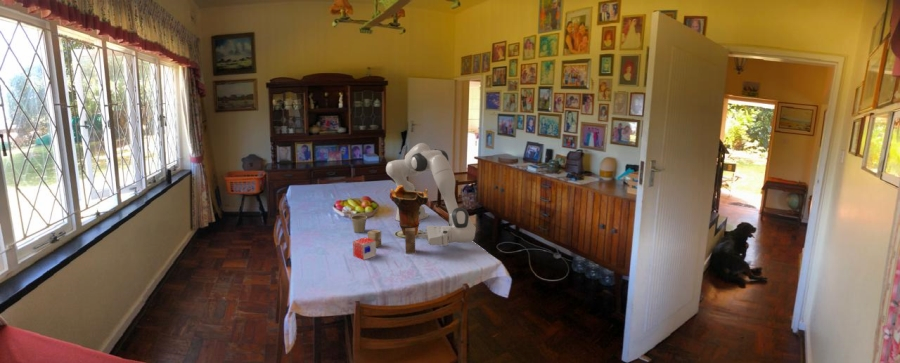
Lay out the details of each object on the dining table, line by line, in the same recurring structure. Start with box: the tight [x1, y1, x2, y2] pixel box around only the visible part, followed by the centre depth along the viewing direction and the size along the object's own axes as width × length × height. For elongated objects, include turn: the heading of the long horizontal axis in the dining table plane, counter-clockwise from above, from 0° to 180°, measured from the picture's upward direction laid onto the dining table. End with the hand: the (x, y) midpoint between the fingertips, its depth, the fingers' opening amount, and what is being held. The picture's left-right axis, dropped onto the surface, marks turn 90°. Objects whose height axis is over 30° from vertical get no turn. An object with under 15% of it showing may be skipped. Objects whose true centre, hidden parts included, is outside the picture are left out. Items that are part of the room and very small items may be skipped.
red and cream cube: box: [352, 236, 377, 261], centre depth 216 cm, size 8×8×8 cm
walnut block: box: [404, 228, 416, 255], centre depth 222 cm, size 5×5×12 cm
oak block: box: [367, 229, 382, 248], centre depth 230 cm, size 5×5×8 cm
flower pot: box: [350, 214, 368, 234], centre depth 253 cm, size 9×9×9 cm
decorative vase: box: [389, 185, 429, 239], centre depth 247 cm, size 21×23×28 cm
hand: (418, 235), depth 222 cm, fingers closed
